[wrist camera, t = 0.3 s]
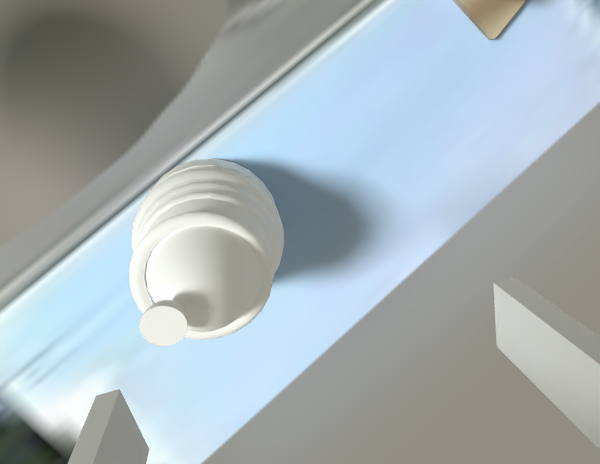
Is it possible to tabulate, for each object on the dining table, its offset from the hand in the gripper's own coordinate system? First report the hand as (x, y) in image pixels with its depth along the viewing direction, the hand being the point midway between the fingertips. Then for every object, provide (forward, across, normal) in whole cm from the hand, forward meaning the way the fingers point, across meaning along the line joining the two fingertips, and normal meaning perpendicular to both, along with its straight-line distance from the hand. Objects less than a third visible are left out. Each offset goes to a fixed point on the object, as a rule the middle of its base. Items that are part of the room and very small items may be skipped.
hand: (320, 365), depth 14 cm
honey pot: (+28, -6, -3) cm, 28 cm away
